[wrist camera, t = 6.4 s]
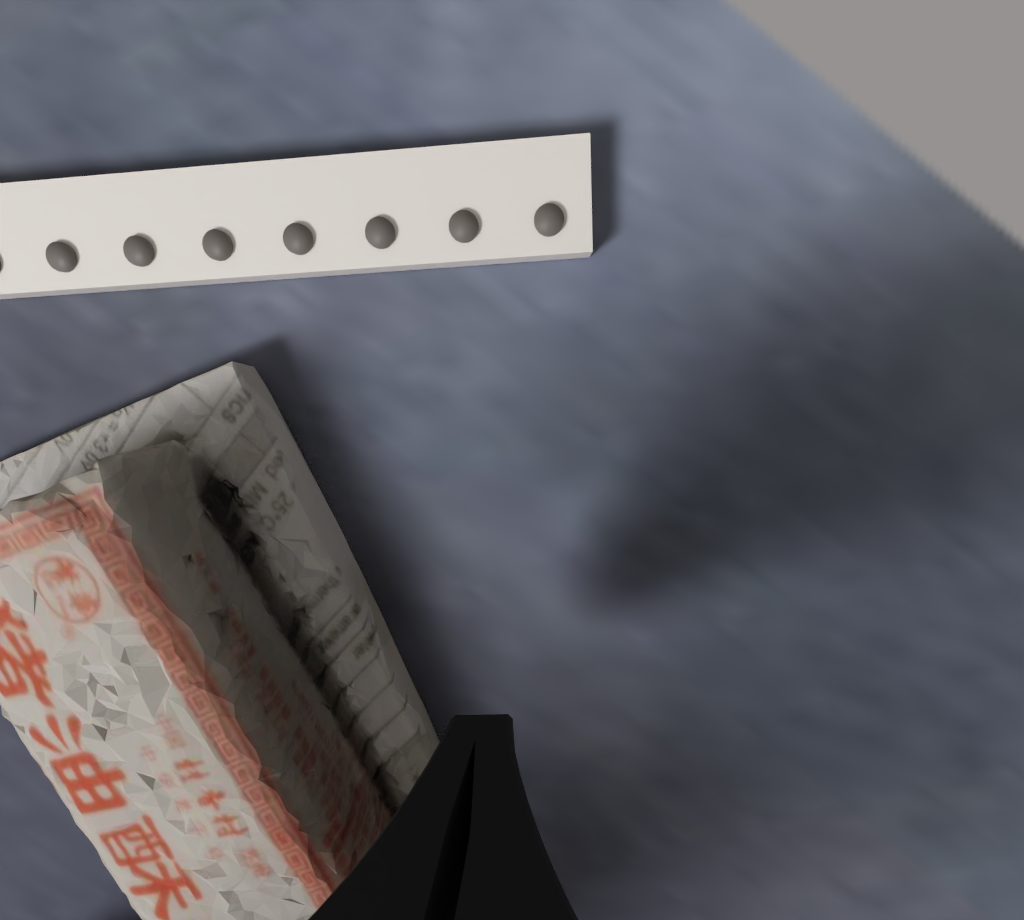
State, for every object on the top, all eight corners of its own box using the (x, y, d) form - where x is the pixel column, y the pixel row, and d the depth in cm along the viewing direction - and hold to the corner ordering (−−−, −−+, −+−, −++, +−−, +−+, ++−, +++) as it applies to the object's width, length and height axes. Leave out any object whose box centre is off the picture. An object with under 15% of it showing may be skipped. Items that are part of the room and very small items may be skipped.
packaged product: (488, 1021, 13) (162, 1092, 14) (500, 839, 18) (256, 904, 19) (128, 359, 9) (-267, 533, 10) (265, 353, 14) (-19, 474, 15)
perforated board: (-7, 299, 13) (-45, 297, 13) (-36, 198, 13) (-78, 188, 12) (589, 257, 12) (593, 251, 12) (586, 146, 12) (590, 130, 11)
